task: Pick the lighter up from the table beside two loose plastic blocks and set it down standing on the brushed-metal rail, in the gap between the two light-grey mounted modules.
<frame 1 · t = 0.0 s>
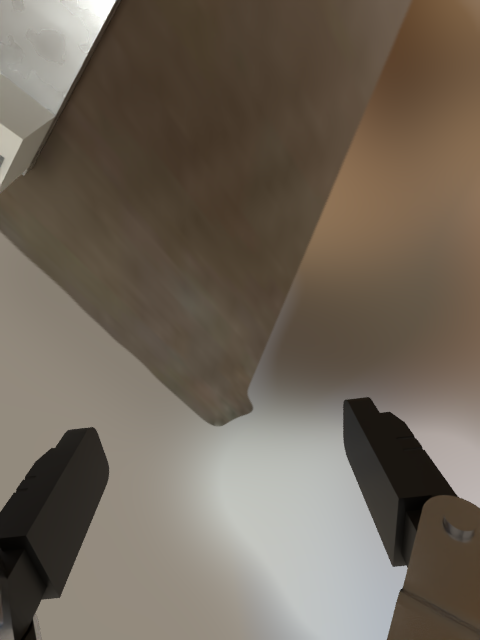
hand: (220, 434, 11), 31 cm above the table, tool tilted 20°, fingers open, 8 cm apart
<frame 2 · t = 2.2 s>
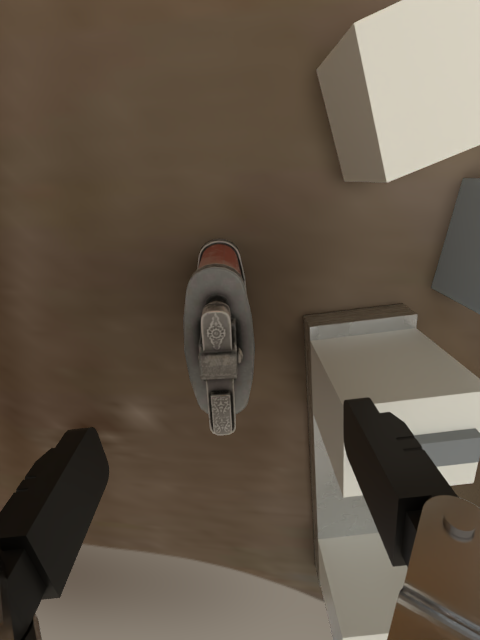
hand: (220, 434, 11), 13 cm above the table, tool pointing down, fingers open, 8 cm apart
rail: (350, 458, 29), on the table
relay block: (373, 110, 19), on the table
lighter: (222, 297, 23), on the table
mounted modules: (378, 522, 24), on the rail, point 6 cm above the table
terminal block: (474, 237, 22), on the table
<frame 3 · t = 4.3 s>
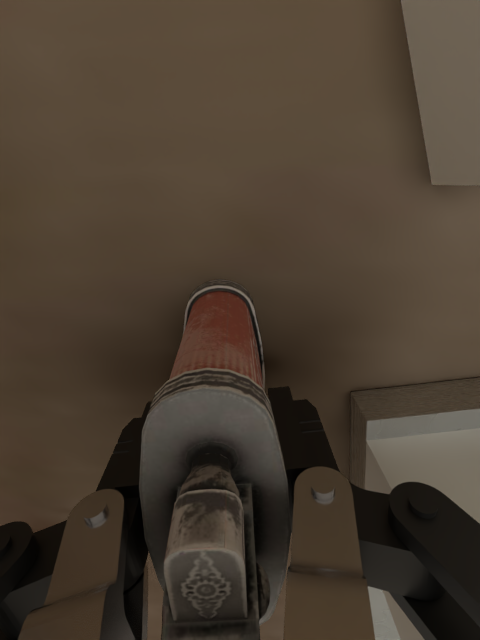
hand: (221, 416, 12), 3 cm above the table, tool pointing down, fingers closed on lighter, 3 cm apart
rail: (406, 576, 21), on the table
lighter: (224, 366, 15), on the table, touching gripper
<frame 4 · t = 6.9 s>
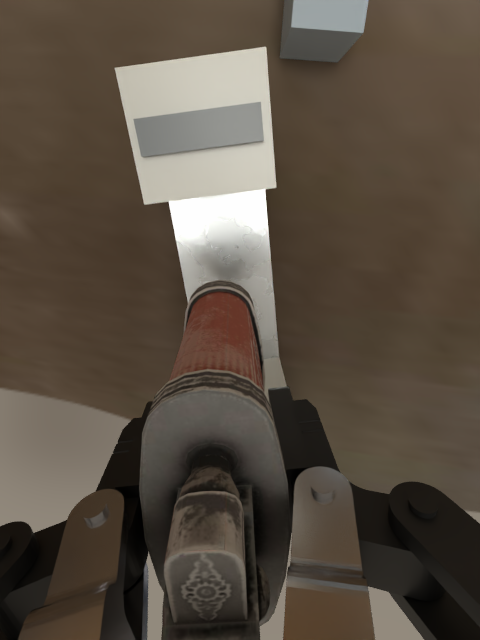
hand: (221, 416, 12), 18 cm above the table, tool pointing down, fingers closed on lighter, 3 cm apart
rail: (229, 278, 29), on the table
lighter: (224, 367, 15), point 15 cm above the table, touching gripper
mounted modules: (228, 301, 23), on the rail, point 6 cm above the table
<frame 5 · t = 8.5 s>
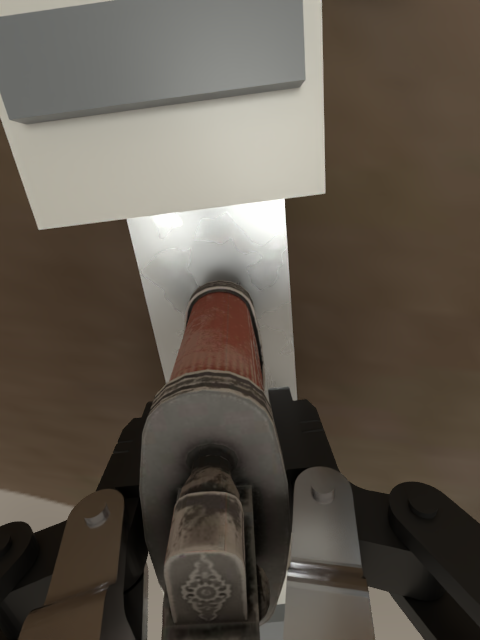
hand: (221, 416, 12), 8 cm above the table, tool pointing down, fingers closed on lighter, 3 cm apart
rail: (225, 326, 19), on the table
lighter: (225, 367, 15), point 5 cm above the table, touching gripper
mounted modules: (223, 383, 14), on the rail, point 6 cm above the table
when the fingers open (6 cm above the table, at t = 9.8 s): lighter stays where it is, resting on rail.
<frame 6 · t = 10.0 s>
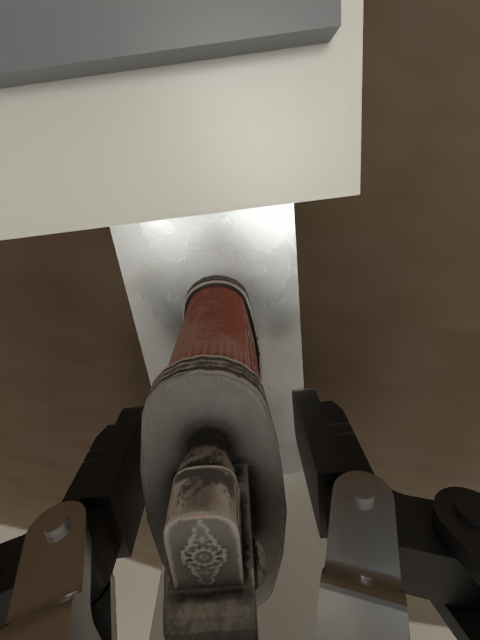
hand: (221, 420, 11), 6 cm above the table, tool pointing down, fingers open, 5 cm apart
rail: (225, 343, 17), on the table
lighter: (223, 360, 15), point 2 cm above the table, touching rail
mounted modules: (221, 419, 12), on the rail, point 6 cm above the table
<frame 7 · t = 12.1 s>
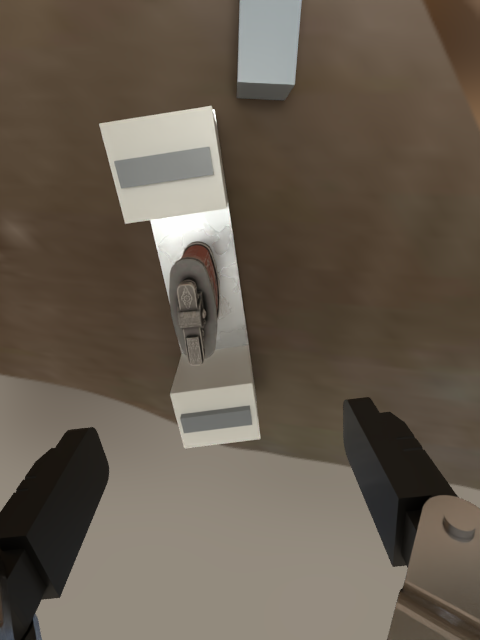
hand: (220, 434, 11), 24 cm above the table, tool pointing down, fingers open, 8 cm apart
rail: (204, 279, 34), on the table
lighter: (202, 283, 32), point 2 cm above the table, touching rail
mounted modules: (199, 297, 28), on the rail, point 6 cm above the table
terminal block: (263, 47, 27), on the table
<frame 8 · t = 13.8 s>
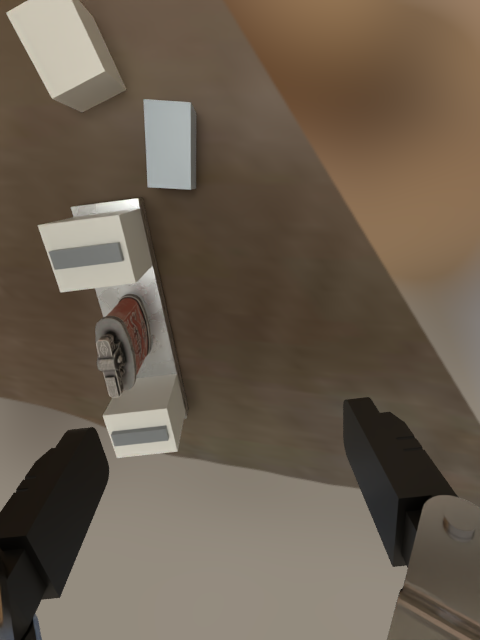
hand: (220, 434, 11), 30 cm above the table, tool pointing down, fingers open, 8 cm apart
rail: (140, 320, 42), on the table
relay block: (87, 67, 32), on the table
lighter: (136, 325, 40), point 2 cm above the table, touching rail
mounted modules: (127, 340, 36), on the rail, point 6 cm above the table
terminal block: (176, 151, 35), on the table
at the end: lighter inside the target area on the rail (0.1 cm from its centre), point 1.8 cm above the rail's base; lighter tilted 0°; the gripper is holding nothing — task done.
